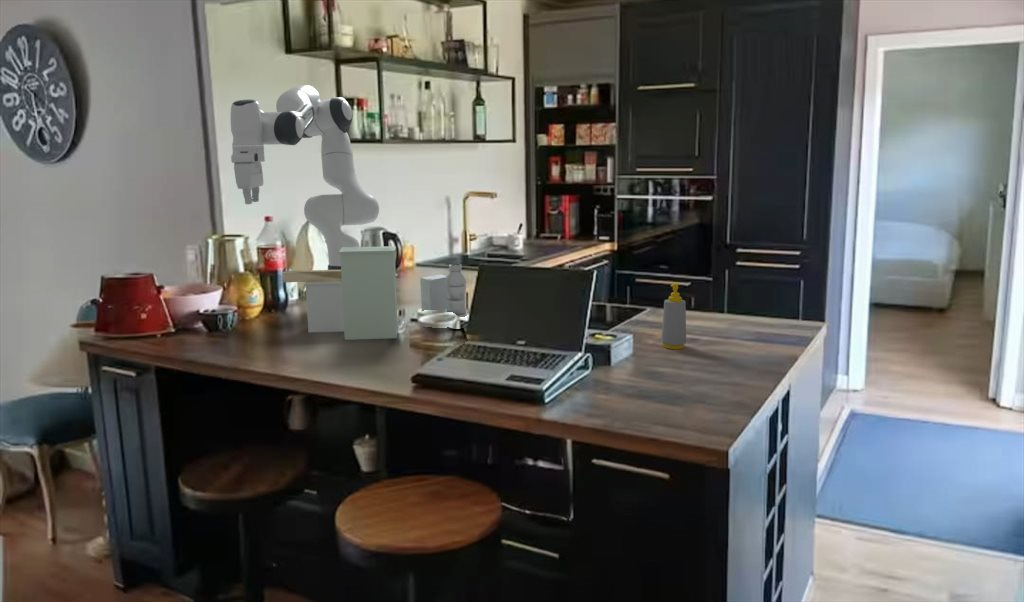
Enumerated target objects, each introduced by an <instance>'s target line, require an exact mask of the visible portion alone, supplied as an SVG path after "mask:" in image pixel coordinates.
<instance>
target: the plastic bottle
mask: <svg viewBox="0 0 1024 602" xmlns="http://www.w3.org/2000/svg"><path fill="white" fill-rule="evenodd" d="M448 265H449V266H448V267H449V268H448V271H449V273H448V274H447V275H446V276H447V278H446V279H445V288H446V294H447V312H453V313H455V314H456V315H457V316H458V317H465V316H467V311H466V310H467V307H466V292H467V291H466V289H467V280H466V277H465V276H464V275H463V273H462V270H463V269H462V264H461V263H452V264H451V263H450V264H448ZM467 317H468V316H467Z"/></svg>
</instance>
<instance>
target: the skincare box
mask: <svg viewBox="0 0 1024 602" xmlns="http://www.w3.org/2000/svg"><path fill="white" fill-rule="evenodd" d="M447 276H448V275H445V274H441V273H440V274H435V275H430V276H423V277H420V281H419V282H420V301H421V307H420V308H421V312H422V311H424V310H444V309H447V294H446V288H445V279H446V278H447Z"/></svg>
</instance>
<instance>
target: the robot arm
mask: <svg viewBox="0 0 1024 602" xmlns="http://www.w3.org/2000/svg"><path fill="white" fill-rule="evenodd" d="M275 105H276V106H275V107H276V111H270V112H269V111H268V112H267V111H266V112H265V111H263V110H261V107H260V104H259V102H258V100H255V99H242V100H236V101H234V102H232V104H231V107H230V132H231V134H232V143H231V145H232V149H231V150H232V154H231V155H230V156H231V157H230V159H231V163H232V164H233V163H234V164H233V170H234V177H235V184H236V187H237V189H238V190H242V194H243V197H244V204H246V205H251V204H253V203H257V202H259V200H260V197H259V196H260V187H262V186H264V173H263V166H262V162H265V147H264V145H266V146H267V145H284V146H297V144H298V143H299V142H301V140H302V139H311V138H313V137H317V136H321V148H320V150H321V151H320V152H321V155H320V156H321V157H320V158H321V166H322V167H321V168H322V178H323V180H324V182H325V183H327V185H329V186H331V187H333V188H336V189H337V190H338V191H340V192H341V193H336V194H320V195H319V194H318V195H314V196H310V197H309V198H308V199H307V200H306V201H305V203H304V209H303V213H304V217H305V219H306V220H307V222H308V223H309V224H310V225H312V226H313V227H315V228H316V229H317V230H318V231H319V232H320V233H321V235H322V236H323V238H324V240H325V242H326V243H325V244H326V249H327V255H328V256H327V257H328V264H327V270H341V256H340V254H339V251H340V250H341V249H342V248H343V247H361V246H360V242H359V241H358V239H356V237H353V236H351V235H349V234H346V233H345V232H343V231H342V226H361V225H366V224H371V223H374V222H375V221H376V220H377V218H378V215H380V213H379V212H380V206H379V202H378V200H377V199H376V198H375V196H373V195H372V194H371V193H368V191H366V190H365V189H364V187H362V185H361V184H360V183H359V181H358V179H357V174H356V169H355V164H354V155H353V153H354V152H353V148H352V144H351V138H350V136H349V133H348V132H349V130H350V128H351V127H350V126H351V124H352V122H353V116H354V115H353V114H354V113H353V108H352V107H351V105H350V103H349V101H347V100H346V98H344V97H340V96H339V97H337V96H336V97H332V98H329V99H324V100H323V99H322V100H321V96H320V93H319V92H318V90H317V89H316V88H314V87H313V86H311V85H309V84H302V85H296V86H294V87H292V88H289V89H288V90H286V91H283V93H281V95H279V96H278V98H277V100H276V104H275Z"/></svg>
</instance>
